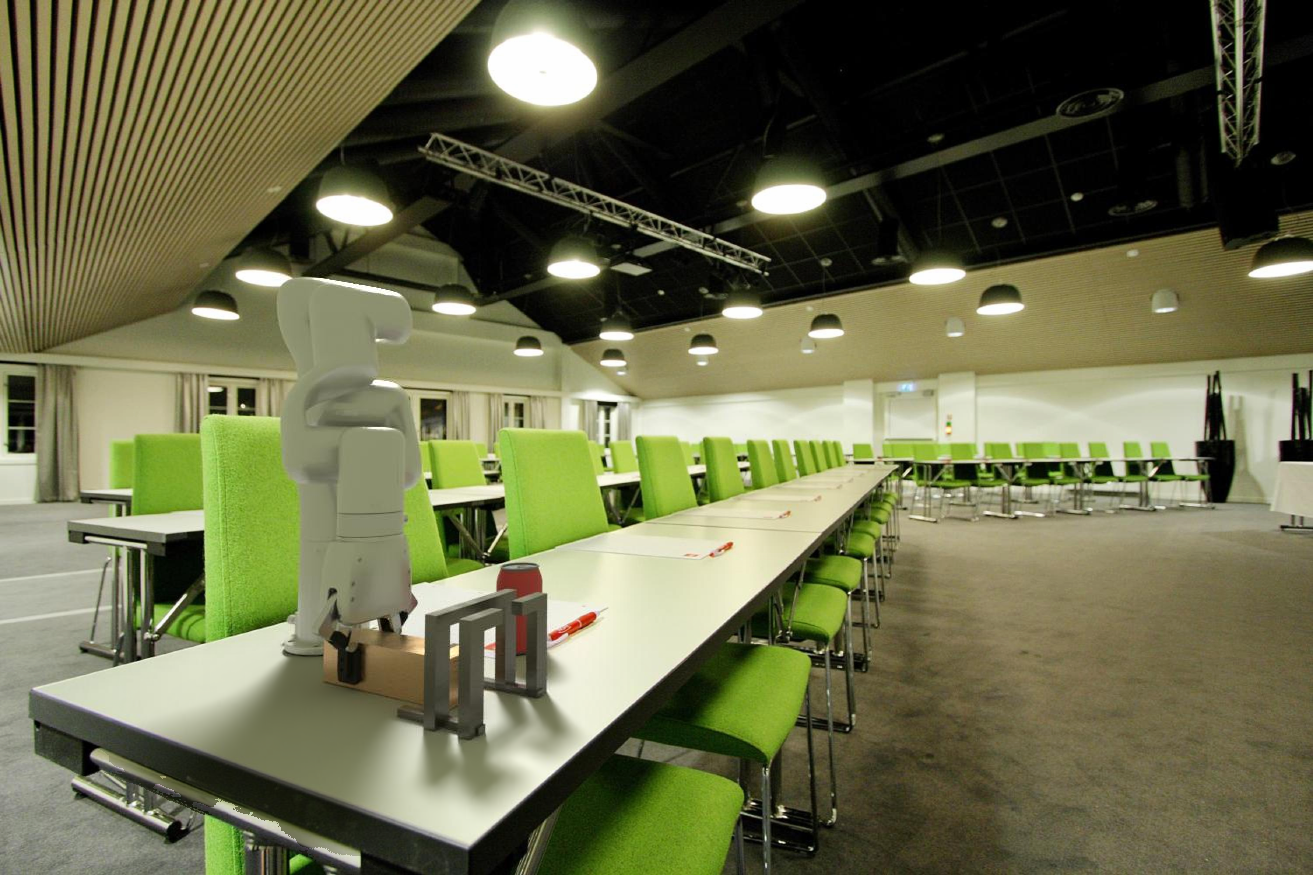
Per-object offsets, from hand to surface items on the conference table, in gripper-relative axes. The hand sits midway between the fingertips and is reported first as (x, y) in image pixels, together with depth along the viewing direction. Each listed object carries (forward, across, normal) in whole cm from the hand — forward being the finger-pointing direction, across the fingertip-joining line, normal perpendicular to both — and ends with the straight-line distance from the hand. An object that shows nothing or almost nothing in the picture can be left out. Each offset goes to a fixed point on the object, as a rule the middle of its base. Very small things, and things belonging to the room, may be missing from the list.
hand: (367, 673), depth 71 cm
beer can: (+1, -18, +9) cm, 20 cm away
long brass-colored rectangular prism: (+1, 0, +5) cm, 5 cm away
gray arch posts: (+1, 0, +17) cm, 17 cm away
